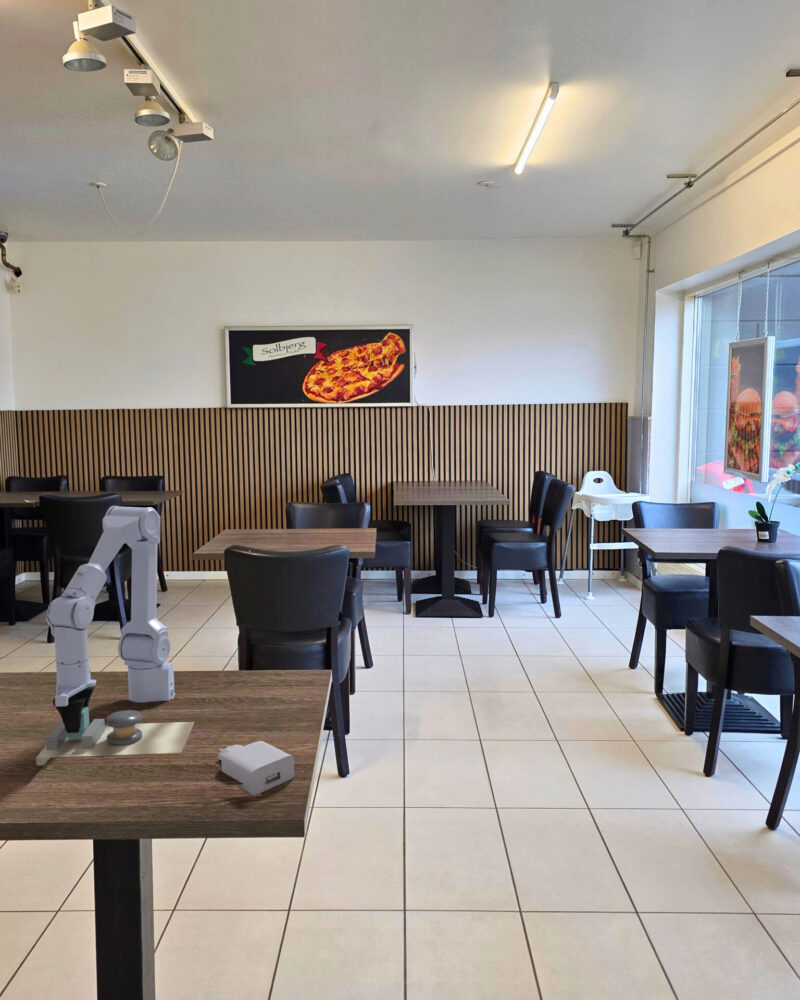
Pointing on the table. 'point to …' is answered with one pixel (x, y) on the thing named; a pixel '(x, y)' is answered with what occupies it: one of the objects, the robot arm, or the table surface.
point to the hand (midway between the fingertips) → (76, 728)
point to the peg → (81, 724)
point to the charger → (257, 766)
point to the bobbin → (124, 728)
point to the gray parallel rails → (87, 738)
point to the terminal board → (152, 742)
